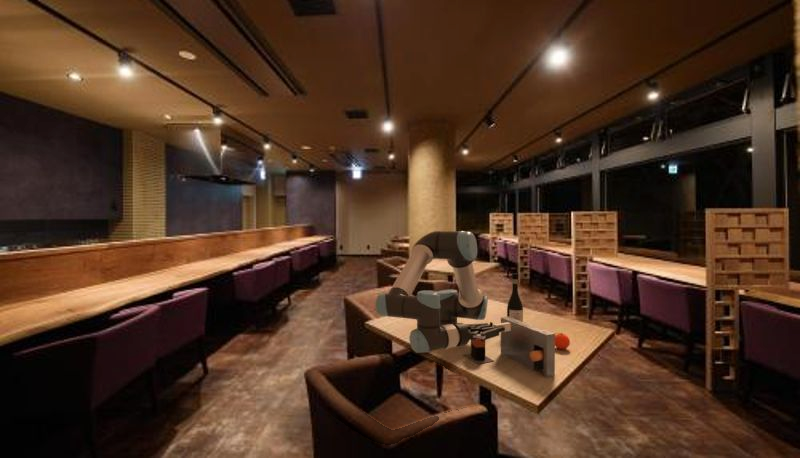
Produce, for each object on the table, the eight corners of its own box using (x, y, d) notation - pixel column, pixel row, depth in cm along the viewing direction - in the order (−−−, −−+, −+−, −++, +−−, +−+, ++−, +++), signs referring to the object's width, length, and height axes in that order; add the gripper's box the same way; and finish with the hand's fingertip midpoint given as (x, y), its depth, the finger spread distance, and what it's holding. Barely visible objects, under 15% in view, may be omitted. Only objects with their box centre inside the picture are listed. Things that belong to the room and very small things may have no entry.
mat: (462, 355, 158) (462, 354, 158) (478, 352, 161) (478, 351, 161) (478, 364, 148) (478, 363, 148) (493, 361, 151) (493, 360, 151)
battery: (480, 354, 158) (480, 331, 157) (485, 360, 151) (485, 336, 151) (470, 354, 157) (470, 332, 157) (475, 361, 150) (475, 337, 150)
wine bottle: (524, 332, 189) (525, 274, 188) (509, 332, 189) (509, 274, 188) (520, 327, 197) (520, 272, 196) (505, 327, 197) (505, 272, 196)
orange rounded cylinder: (529, 359, 139) (529, 350, 139) (539, 357, 141) (539, 348, 141) (536, 362, 136) (536, 353, 136) (546, 360, 138) (546, 351, 138)
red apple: (547, 346, 168) (548, 331, 167) (559, 344, 170) (559, 329, 170) (561, 352, 160) (561, 336, 160) (573, 350, 163) (573, 334, 163)
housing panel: (500, 353, 159) (500, 317, 159) (508, 352, 161) (508, 316, 160) (546, 377, 135) (546, 335, 135) (554, 375, 137) (554, 333, 136)
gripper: (444, 340, 129) (497, 331, 139) (465, 352, 117) (521, 342, 127) (444, 319, 129) (497, 312, 138) (464, 329, 117) (522, 320, 126)
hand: (509, 326), depth 133 cm, fingers closed
